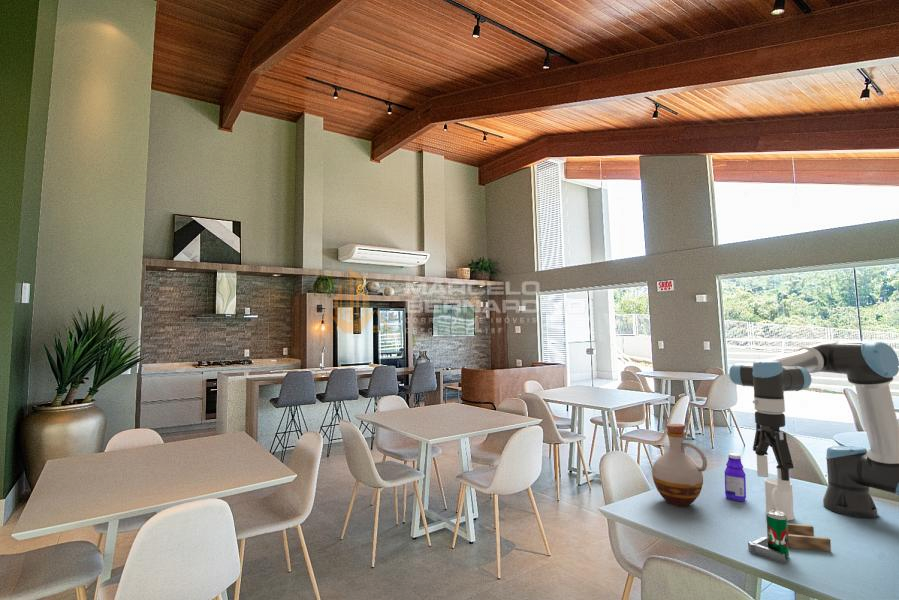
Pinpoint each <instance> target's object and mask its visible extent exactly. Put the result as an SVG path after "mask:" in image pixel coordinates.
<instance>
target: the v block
mask: <svg viewBox="0 0 899 600" xmlns="http://www.w3.org/2000/svg"><path fill="white" fill-rule="evenodd" d="M747 547H748V549H747V550H748V551H749V552H750V554H753V555H754V554H756V555H759V556H761V557H763V558H767V559H769V560H772V561H774V562H777V563H779V564H782V563H783V564H782V565H784V564H786V558H785V554H784V553H781V552H778V551H775V550H773V549H770V548H768V540H767V536H762V537H760V538H758V539H756V540H753V541H747Z"/></svg>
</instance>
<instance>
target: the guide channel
mask: <svg viewBox="0 0 899 600" xmlns="http://www.w3.org/2000/svg"><path fill="white" fill-rule="evenodd" d="M787 524H788V546H789V548H791V549H800V550H801V549H802V550H809V551H810V550H812V551H813V550H814V551H821V552H822V551H823V552H832V544H831V543H832V542H831V539H830V537H825V536H824V537H823V536H815V532H814V531H815V529H814V526H813V525H810V524H801V523H800V524H798V523H788V522H787Z"/></svg>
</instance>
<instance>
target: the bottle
mask: <svg viewBox="0 0 899 600" xmlns="http://www.w3.org/2000/svg"><path fill="white" fill-rule="evenodd" d="M727 457H728V458H727V462H726V464H725V465H726V468H725V470H724V494H725V497H726V498H727V499H729V500H733V501H739V502H744V501H746V499H747V487H746V486H747V484H746V482H747V481H746V480H747V479H746V476H747V475H746V473H745V471H744V465H743V463H742V460H741V457H742V456H741V454H738V453H733V452H730V453H728V456H727Z"/></svg>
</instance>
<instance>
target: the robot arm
mask: <svg viewBox="0 0 899 600" xmlns="http://www.w3.org/2000/svg"><path fill="white" fill-rule="evenodd" d="M815 373H833V374H840V375H841V374H842V375H846V377H847V381H848V382H849V383H850V384H852V385H854V386H855V390H856V391H855V392H856V394H857V395H856V396H857V397H858V398H857V399H858V403H859V407H860V410H861V416H862V419H863V423H864V427H865V432H866V436H867V440H868V444H869V448H870V449H869V450H868V449H867V448H865V447H862V446H851V445H833V446H829V447H828V448H827V449H826V457H825V459H826V468H827V469H826V470H827V471H826V473H827V483H828V484H827V488H826V491H825V493H824V496H823V499H822V502H823V507H824V508H826V509H827V510H828V511H832V512H835V513H836V514H837V513H838V514H840V515H845V516H850V517H854V518H855V517H856V518H863V519H871V518H872V519H873V518H877V517H878V508H877V506H876V504H875V502H874V499H873V497H872V495H871V493H870V488H872V489H874V490H879V491H883V492H886V493H891V494H894V495H897V496H899V422H898V418H897V413H896V409H895V406H894V405H895V404H894V401H893V397H892V393H891V389H890V385H889V384H890V383H892V382H893V381H894V377H896V376H897V374H898V373H899V357H898V355H897V353H896V351H895V350H894V348H893V347H892V346H891V345H888V343H886V342H882V341H881V342H880V341H872V340H857V341H856V340H851V341H850V340H849V341H848V340H841V341H840V340H830V341H823V342H819V343H815V344H811V345H806V346H803V347H800V348H799V349H797V350H796V351H795V352H791V353H788V354H787V353H786V354H783V355H778V356H776V357H775V356H774V357H771V358H767V359H763V360H755V361H754V362H751V363H744V362H741V363H734V364H732V365H731V366H730V368H729V371H728V374H729V379H730V380H731V382H732V383H733V384H735V385H738V386H742V387H752V388H753V392H754V393H753V397H754V398H753V399H754V400H752V403H753V404H754V410H755V412H754V423H755V433H754V434H755V435H754V440H753V446H752V451H754V452H755V455H756V467H757V468H756V471H757V472H756V473H757V478H758V477H759V478H769V464H768V463H769V462H768V461H769V460H768V455H769V454H768V449H769V447H771V448H772V449H771V450H772V452H773V455H774V458H775V460H776V462H777V463H776V464H777V465H776V473H777V474H776V477H777V479H778V491H782V492H790V469H794V464H793V463H794V462H793V459H792V457H791V456H792V455H791V452H790V448H789V445H788V441H787V433H786V432H782V431H780V428H785V426H786V415H785V414H784V413H785V412H786V406H785V405H786V404H785V397H784V396H785V393H784V392H799V391H802V390H806V389H808V388H809V387H810V386H811V384H812V375H811V374H815Z"/></svg>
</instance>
